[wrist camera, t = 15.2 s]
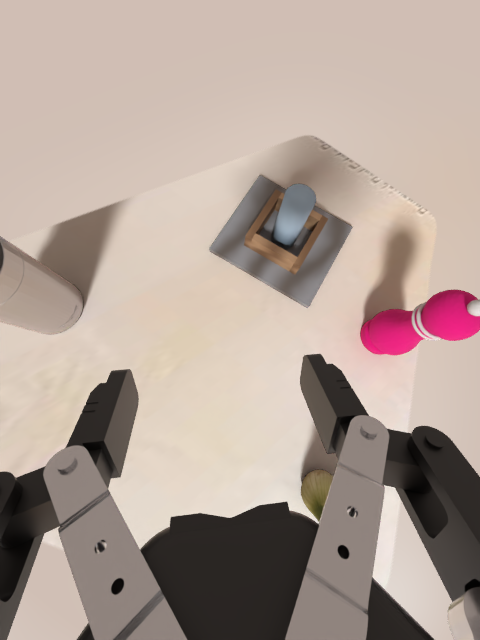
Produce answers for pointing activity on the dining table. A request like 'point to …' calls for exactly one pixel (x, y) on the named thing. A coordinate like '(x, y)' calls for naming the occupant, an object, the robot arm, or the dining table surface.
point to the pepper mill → (423, 323)
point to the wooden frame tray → (271, 260)
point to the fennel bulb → (316, 491)
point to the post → (293, 215)
